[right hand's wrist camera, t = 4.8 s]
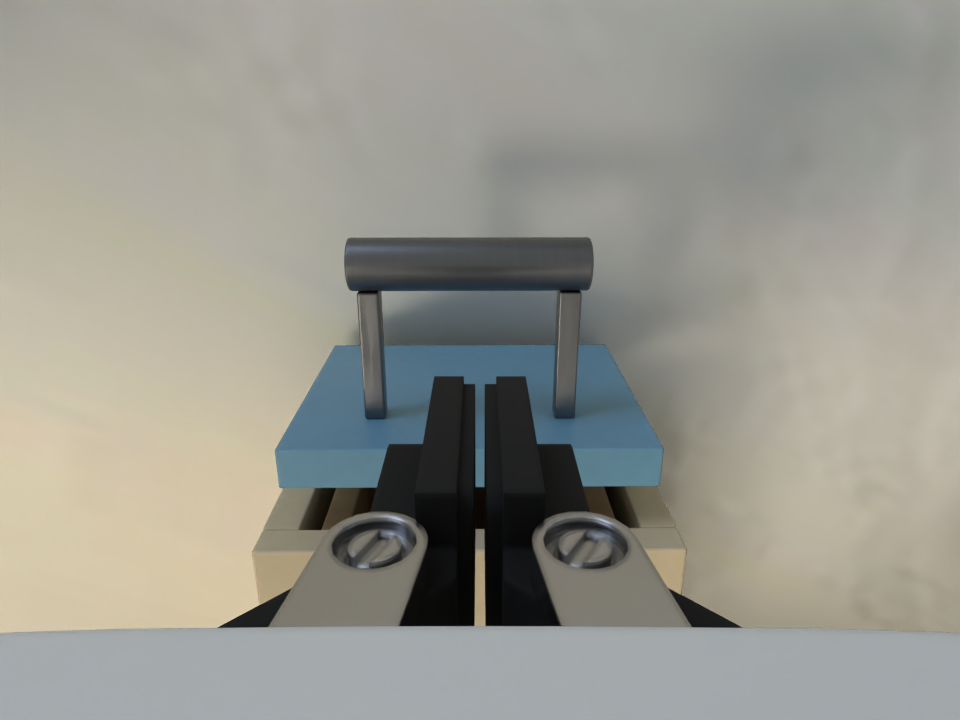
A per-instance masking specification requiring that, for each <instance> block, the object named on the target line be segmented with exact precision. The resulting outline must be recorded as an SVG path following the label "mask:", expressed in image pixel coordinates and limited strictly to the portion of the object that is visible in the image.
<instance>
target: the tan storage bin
mask: <svg viewBox="0 0 960 720" xmlns="http://www.w3.org/2000/svg"><path fill="white" fill-rule="evenodd" d="M604 488H605V491H606V494H607V497H608V500H609V502H610V505H611V508H612V511H613V514H614V517H615V520H617V521H619V522H621V523H622V524H624V525H625V526H627V527H628V528H629V529H630V530H631V531H632V532H633V533H634V534H635V536H636V537H637V538H638V540H639V542H640V543H641V545H642V546H643V548H644V550H645V551H646V553H647V555H648V556H649V558H650V560H651V561H652V563H653V564H654V566H655V568H656V569H657V571H658V573H659V574H660V576H661V577H662V579H663V581H664V582H665V584H666V586H667V587H668V588H669V589H671V590H673V591H675V592H677V593H679V594H680V595H681V590H682V583H683V575H684V568H685V560H686V553H687V549H686V547H685V545H684V543H683V541H682V539H681V537H680V535H679V532H678V530H677V529H676V525H675V523H674V521H673V519H672V517H671V515H670V513H669V511H668V509H667V507H666V505H665V503H664V501H663V498H662V496H661V494H660V492H659V490H658V488H657V486H604ZM335 490H336V488H283V490H282V492H281V494H280V496H279V498H278V500H277V502H276V504H275V506H274V508H273V510H272V512H271V514H270V516H269V518H268V520H267V522H266V524H265V526H264V528H263V532H262V533H261V535H260V537H259V539H258V541H257V543H256V545H255V547H254V549H253V552H252V556H253V563H254V570H255V577H256V584H257V590H258V597H259V604H260V605H261V604H263V603H265V602H266V601H268V600H270V599H272V598H274V597H276V596H278V595H280V594H281V593H283V592H285V591H287V590H289V589H291V588H292V587H293V586H294V584H295V582H296V581H297V579H298V577H299V576H300V574H301V573H302V571H303V569H304V568H305V566H306V564H307V563H308V561H309V560H310V558H311V556H312V555H313V553H314V551H315V550H316V548H317V546H318V545H319V543H320V542H321V540H322V538H323V537H324V536H325V534H326V533H327V532H328V531H329V530H322V527H323V524H324V521H325V518H326V516H327V513H328V510H329V507H330V504H331V502H332V499H333V496H334V493H335ZM475 626H485V540H484V529H476V540H475Z"/></svg>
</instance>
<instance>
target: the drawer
mask: <svg viewBox="0 0 960 720" xmlns="http://www.w3.org/2000/svg"><path fill="white" fill-rule="evenodd" d="M344 265H345V277H346V282H347V286H348V288H349V290H351V291H359V292H358V293H357V303H358V318H359V333H360V345H349V346H335V347H334V349H333V350H332V352H331V354H330V356H329V357H328V359H327V361H326V362H325V364H324V366H323V368H322V369H321V371H320V373H319V375H318V376H317V378H316V380H315V382H314V383H313V385H312V387H311V389H310V390H309V392H308V394H307V395H306V397H305V399H304V401H303V402H302V404H301V406H300V408H299V409H298V411H297V413H296V415H295V416H294V418H293V420H292V421H291V423H290V425H289V427H288V428H287V430H286V432H285V434H284V435H283V437H282V439H281V441H280V442H279V444H278V446H277V448H276V449H275V456H276V464H277V472H278V480H279V487H280V488H336V490H335V493H334V496H333V499H332V502H331V504H330V507H329V510H328V513H327V516H326V518H325V521H324V524H323V527H322V530H330V529H331V528H332V527H333V526H335V525H336V524H338V523H339V522H341V521H343V520H345V519H347V518H350V517H353V516H355V515H358V514H363V513H369V512H370V510H371V507H372V503H373V499H374V496H375V492H376V488H377V485H378V481H379V477H380V474H381V470H382V466H383V462H384V459H385V455H386V451H387V448H388V445H389V444H423V440H424V434H425V428H426V422H427V416H428V410H429V404H430V398H431V392H432V386H433V381H434V376H464V384H475V453H476V529H484V454H485V384H496V376H526V381H527V386H528V392H529V398H530V404H531V410H532V416H533V422H534V428H535V434H536V440H537V444H571V445H572V448H573V451H574V455H575V459H576V462H577V466H578V470H579V474H580V477H581V481H582V485H583V488H584V492H585V496H586V499H587V503H588V507H589V510H590V512H591V513H597V514H602V515H605V516H607V517H610V518H613V519H615V517H614V514H613V511H612V508H611V505H610V502H609V500H608V497H607V494H606V491H605V488H604V486H659V485H660V478H661V469H662V460H663V451H664V449H663V446H662V445H661V443H660V441H659V439H658V438H657V436H656V434H655V432H654V430H653V429H652V427H651V425H650V423H649V422H648V420H647V418H646V416H645V415H644V413H643V411H642V409H641V407H640V406H639V404H638V402H637V400H636V399H635V397H634V395H633V393H632V391H631V390H630V388H629V386H628V384H627V383H626V381H625V379H624V377H623V375H622V374H621V372H620V370H619V368H618V367H617V365H616V363H615V361H614V360H613V358H612V356H611V354H610V352H609V351H608V349H607V347H606V345H579V332H580V314H581V297H582V293H581V291H580V290H588V289H589V288H590V286H591V283H592V277H593V246H592V242H591V239H590V238H588V237H585V238H349V239H348V240H347V242H346V246H345V256H344ZM549 290H557V311H556V335H555V345H384V333H383V314H382V296H381V291H549Z"/></svg>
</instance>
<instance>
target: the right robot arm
mask: <svg viewBox="0 0 960 720" xmlns="http://www.w3.org/2000/svg"><path fill="white" fill-rule="evenodd" d="M475 540H476V453H475V384H464V376H434V381H433V386H432V392H431V398H430V404H429V410H428V416H427V422H426V428H425V434H424V440H423V444H389V445H388V448H387V451H386V455H385V459H384V462H383V466H382V470H381V474H380V477H379V481H378V485H377V488H376V492H375V496H374V499H373V503H372V507H371V510H370V512H369V513H363V514H358V515H355V516H353V517H350V518H347V519H345V520H343V521H341V522H339V523H338V524H336V525H335V526H333V527H332V528H331V529H330V530H329V531H328V532H327V533H326V534H325V536H324V537H323V538H322V540H321V542H320V543H319V545H318V546H317V548H316V550H315V551H314V553H313V555H312V556H311V558H310V560H309V561H308V563H307V564H306V566H305V568H304V569H303V571H302V573H301V574H300V576H299V577H298V579H297V581H296V582H295V584H294V586H293V587H292V588H291V589H289V590H287V591H285V592H283V593H281V594H280V595H278V596H276V597H274V598H272V599H270V600H268V601H266V602H265V603H263V604H261V605H259V606H257V607H255V608H253V609H252V610H250V611H248V612H246V613H244V614H242V615H240V616H238V617H237V618H235V619H233V620H231V621H229V622H227V623H225V624H224V625H222V626H220V627H218V628H167V629H105V630H74V631H43V632H13V633H0V720H960V633H948V632H920V631H885V630H850V629H811V628H742V627H740V626H738V625H736V624H735V623H733V622H731V621H729V620H727V619H725V618H723V617H722V616H720V615H718V614H716V613H714V612H712V611H710V610H708V609H707V608H705V607H703V606H701V605H699V604H697V603H695V602H694V601H692V600H690V599H688V598H686V597H684V596H682V595H680V594H679V593H677V592H675V591H673V590H671V589H669V588H668V587H667V586H666V584H665V582H664V581H663V579H662V577H661V576H660V574H659V573H658V571H657V569H656V568H655V566H654V564H653V563H652V561H651V560H650V558H649V556H648V555H647V553H646V551H645V550H644V548H643V546H642V545H641V543H640V542H639V540H638V538H637V537H636V536H635V534H634V533H633V532H632V531H631V530H630V529H629V528H628V527H627V526H625V525H624V524H622V523H621V522H619V521H617V520H615V519H613V518H610V517H607V516H605V515H602V514H597V513H591V512H590V510H589V507H588V503H587V499H586V496H585V492H584V488H583V485H582V481H581V477H580V474H579V470H578V466H577V462H576V459H575V455H574V451H573V448H572V445H571V444H537V440H536V434H535V428H534V422H533V416H532V410H531V404H530V398H529V392H528V386H527V381H526V376H496V384H485V454H484V540H485V626H475Z"/></svg>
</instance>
